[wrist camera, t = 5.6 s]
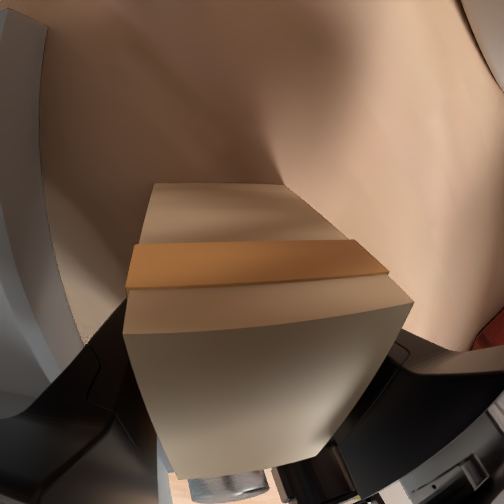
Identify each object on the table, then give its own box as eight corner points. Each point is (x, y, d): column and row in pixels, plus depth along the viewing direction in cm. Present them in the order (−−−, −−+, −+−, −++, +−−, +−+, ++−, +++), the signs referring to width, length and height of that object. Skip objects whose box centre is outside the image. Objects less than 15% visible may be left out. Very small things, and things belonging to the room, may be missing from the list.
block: (286, 183, 9) (418, 299, 4) (263, 328, 12) (316, 456, 7) (152, 181, 8) (118, 330, 3) (164, 335, 11) (176, 480, 6)
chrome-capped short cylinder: (251, 407, 15) (275, 481, 11) (245, 436, 17) (264, 495, 13) (176, 415, 14) (188, 493, 10) (183, 442, 16) (194, 505, 12)
